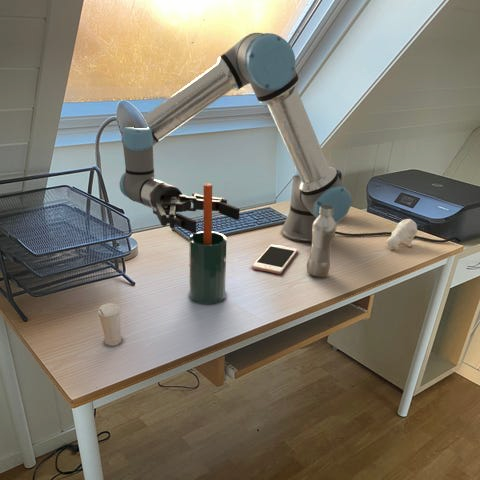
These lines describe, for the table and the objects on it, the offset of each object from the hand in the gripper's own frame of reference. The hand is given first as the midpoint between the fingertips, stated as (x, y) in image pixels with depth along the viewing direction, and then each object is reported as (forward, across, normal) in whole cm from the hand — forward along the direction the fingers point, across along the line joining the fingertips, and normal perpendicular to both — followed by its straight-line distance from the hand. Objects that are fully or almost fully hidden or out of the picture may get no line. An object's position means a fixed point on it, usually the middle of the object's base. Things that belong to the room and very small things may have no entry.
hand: (217, 220), depth 111 cm
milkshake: (-1, +30, -22) cm, 37 cm away
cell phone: (-7, -30, -22) cm, 38 cm away
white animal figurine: (+12, -70, -22) cm, 74 cm away
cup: (-3, 0, -21) cm, 22 cm away
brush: (-3, 0, -20) cm, 21 cm away
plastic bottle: (+7, -32, -22) cm, 40 cm away
